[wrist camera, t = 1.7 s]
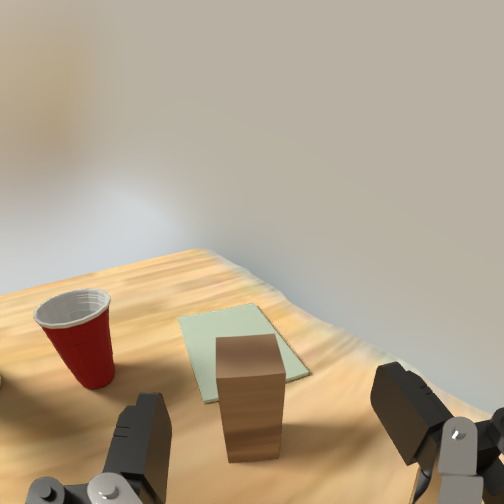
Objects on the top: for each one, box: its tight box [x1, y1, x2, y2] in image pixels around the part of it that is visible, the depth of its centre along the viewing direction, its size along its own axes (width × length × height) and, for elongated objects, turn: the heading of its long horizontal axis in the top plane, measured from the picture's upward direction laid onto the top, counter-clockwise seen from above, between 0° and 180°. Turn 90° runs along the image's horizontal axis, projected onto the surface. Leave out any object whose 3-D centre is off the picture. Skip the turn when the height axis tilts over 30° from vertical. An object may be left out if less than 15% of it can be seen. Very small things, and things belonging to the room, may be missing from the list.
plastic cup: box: [34, 288, 115, 389], centre depth 33 cm, size 11×11×12 cm
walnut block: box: [216, 333, 286, 463], centre depth 24 cm, size 5×5×13 cm
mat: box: [178, 303, 309, 404], centre depth 43 cm, size 20×14×1 cm
